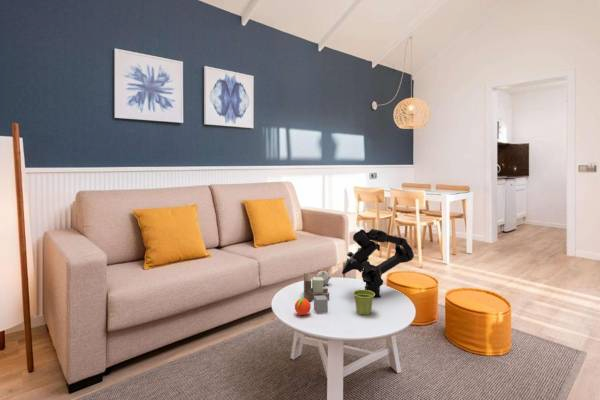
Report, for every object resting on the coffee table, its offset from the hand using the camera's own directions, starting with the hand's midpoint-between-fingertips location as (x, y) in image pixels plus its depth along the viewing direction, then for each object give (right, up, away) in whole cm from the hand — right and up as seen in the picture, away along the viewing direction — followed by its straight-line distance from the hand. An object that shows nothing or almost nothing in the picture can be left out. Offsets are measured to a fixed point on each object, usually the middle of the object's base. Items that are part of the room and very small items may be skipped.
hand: (342, 273), depth 177 cm
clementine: (-20, -14, -20) cm, 32 cm away
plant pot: (+7, -14, -17) cm, 23 cm away
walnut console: (-13, -12, +1) cm, 17 cm away
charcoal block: (-12, -13, -16) cm, 24 cm away
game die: (-8, -10, +18) cm, 23 cm away
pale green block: (-12, -11, +1) cm, 17 cm away
